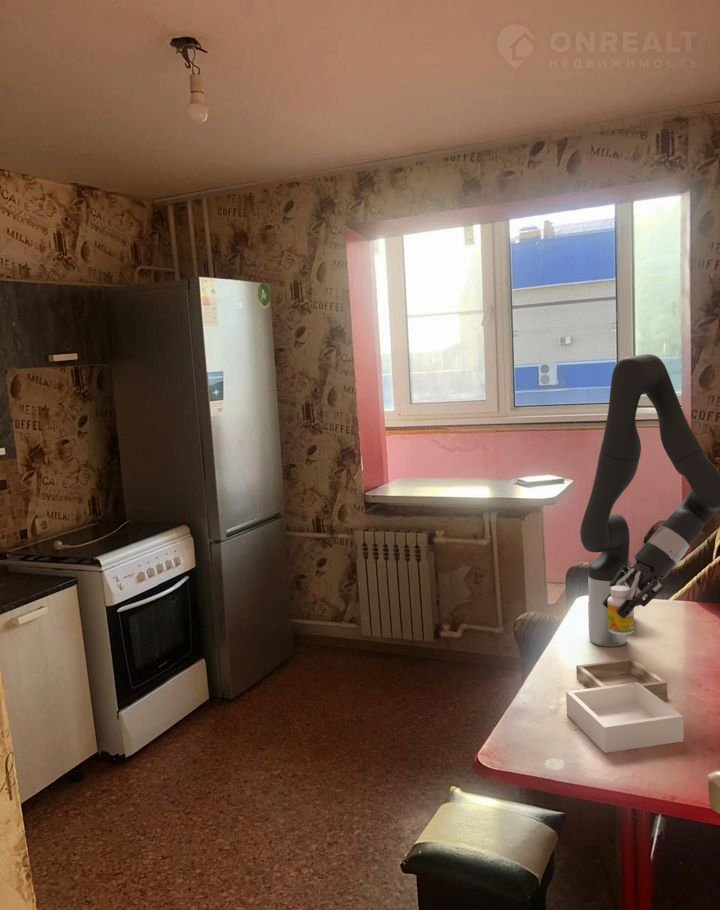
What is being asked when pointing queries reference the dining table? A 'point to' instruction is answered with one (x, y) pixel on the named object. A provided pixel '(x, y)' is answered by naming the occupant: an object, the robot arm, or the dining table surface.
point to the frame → (592, 671)
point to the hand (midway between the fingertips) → (613, 611)
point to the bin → (624, 717)
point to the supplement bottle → (614, 620)
